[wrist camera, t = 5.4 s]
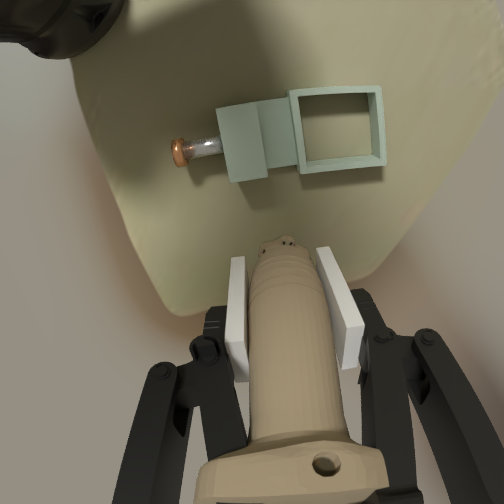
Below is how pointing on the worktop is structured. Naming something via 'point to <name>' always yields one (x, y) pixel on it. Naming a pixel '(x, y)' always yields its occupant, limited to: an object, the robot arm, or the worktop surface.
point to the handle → (292, 399)
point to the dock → (289, 135)
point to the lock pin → (195, 149)
